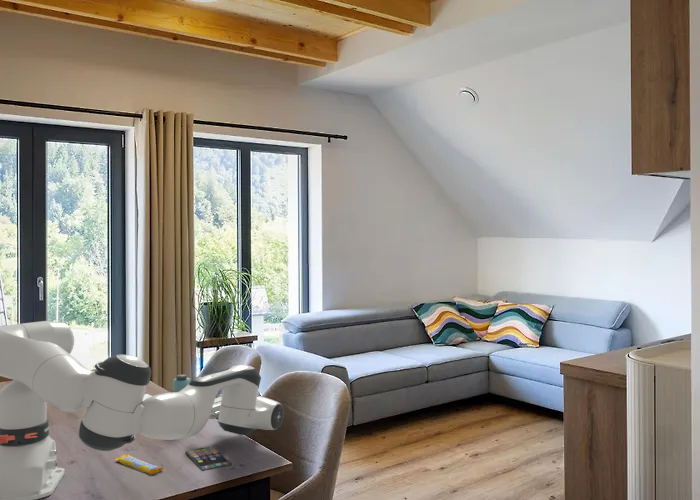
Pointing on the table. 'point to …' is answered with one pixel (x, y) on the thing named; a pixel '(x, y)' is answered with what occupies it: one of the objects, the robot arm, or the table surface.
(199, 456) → the smartphone
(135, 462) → the candy bar
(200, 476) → the table surface
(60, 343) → the robot arm
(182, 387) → the bottle
